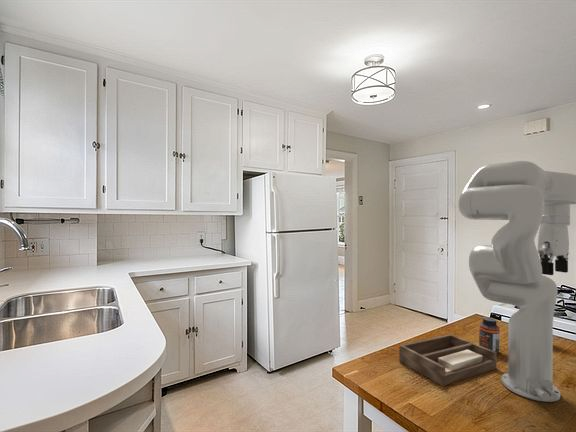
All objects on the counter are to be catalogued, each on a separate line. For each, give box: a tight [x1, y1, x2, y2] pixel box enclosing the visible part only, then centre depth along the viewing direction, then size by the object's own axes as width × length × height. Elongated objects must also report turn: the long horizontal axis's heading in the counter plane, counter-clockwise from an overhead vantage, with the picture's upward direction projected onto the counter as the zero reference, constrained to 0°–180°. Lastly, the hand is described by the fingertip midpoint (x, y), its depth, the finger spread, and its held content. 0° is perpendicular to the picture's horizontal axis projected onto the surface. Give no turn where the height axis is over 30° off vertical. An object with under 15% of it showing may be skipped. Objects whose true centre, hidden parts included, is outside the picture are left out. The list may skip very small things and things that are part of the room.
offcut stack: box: [438, 349, 483, 373], centre depth 92 cm, size 5×18×4 cm, turn 116°
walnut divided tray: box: [398, 333, 498, 386], centre depth 96 cm, size 16×24×5 cm, turn 114°
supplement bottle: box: [478, 316, 500, 354], centre depth 106 cm, size 6×6×11 cm
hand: (554, 273), depth 98 cm, fingers open, 9 cm apart
